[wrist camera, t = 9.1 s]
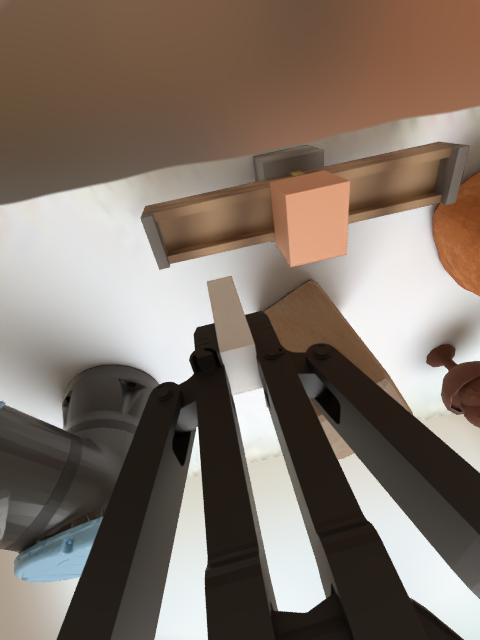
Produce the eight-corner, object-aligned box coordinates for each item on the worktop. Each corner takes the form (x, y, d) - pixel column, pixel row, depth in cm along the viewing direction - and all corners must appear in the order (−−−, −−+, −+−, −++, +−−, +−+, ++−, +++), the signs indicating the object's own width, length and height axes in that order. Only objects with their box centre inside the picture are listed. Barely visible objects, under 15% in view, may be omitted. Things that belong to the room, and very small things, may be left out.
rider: (273, 241, 31) (290, 267, 26) (266, 179, 27) (285, 195, 22) (319, 231, 31) (346, 254, 26) (319, 168, 27) (350, 181, 22)
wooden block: (254, 314, 45) (295, 430, 29) (311, 274, 42) (391, 376, 26) (288, 351, 50) (338, 465, 34) (340, 317, 48) (420, 423, 32)
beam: (167, 249, 37) (164, 283, 30) (144, 180, 32) (134, 200, 25) (399, 197, 38) (451, 217, 31) (410, 122, 33) (474, 125, 26)
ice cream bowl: (454, 371, 61) (522, 436, 49) (404, 378, 59) (461, 447, 47) (478, 330, 55) (562, 392, 43) (422, 336, 53) (493, 403, 41)
